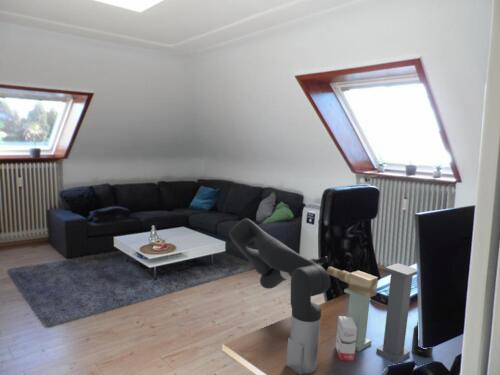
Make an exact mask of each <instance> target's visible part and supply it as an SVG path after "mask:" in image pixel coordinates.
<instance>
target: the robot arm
mask: <svg viewBox="0 0 500 375" xmlns="http://www.w3.org/2000/svg"><path fill="white" fill-rule="evenodd" d="M228 237H229V238H230V240H231V241H232V242H233V244H234V245H235V246H236V247H237V249H238V250H239V251H240V252H241V253H242V255H244V257H245V258H246V259H247V260H248V261H249V262H250V264H251V265H252V266H253V268H254V270H255V271H256V272H257V273H258V274H259V275H261V276H260V278H259V284H260V285H261V287H262V288H265V289H269V290H270V289H273V288H275V287H277V286H279V285H280V284H282V283H283V282H285V281H288V280H290V306H291V320H290V336H289V337H288V338H287V345H286V346H287V347H286V349H287V350H286V360H285V366H286V367H288V368H290V369H291V370H293V371H294V372H295V373H297V374H298V375H302V374H311V373H314V372H315V371H316V370H317V367H318V357H319V356H318V355H319V345H320V344H319V343H320V334H321V333H320V331H321V320H322V308H321V307H320V305H318V304H316V303H315V302H312V299H311V298H312V297H313V296H318V295H322V294H324V293H326V292H327V291H328V290H329V289H330V287H331V278H330V275H329V274H328V273H327V269H325V268H324V267H323V266H322V265H324V264H325V263H328V262H329V258H328V256H327V255H326V256H322V257H318V258H311V259H308V258H306V257H304V256H302V255H300V254H299V253H297V251H295V250H293V249H292V248H290V247H288V245H286V244H285V243H283V242H281V240H279V239H277V238H275V237H273V236H272V235H270V234H269V233H267V232H266V231H264V230H263V229H262V228H261V227H260V226H259V225H258V224H256V223H255V222H254V221H253V220H251V219H250V218H246V217H245V218H242V219H241V220H239V222H238V223H236V224H235V225H234V226H233V227H232V228H231V229H230V230H229V231H228ZM255 239H256V240H257V249H254V248H250V247H248V245H249V244H251V242H253V241H254V240H255Z"/></svg>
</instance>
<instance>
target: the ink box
mask: <svg viewBox="0 0 500 375" xmlns="http://www.w3.org/2000/svg"><path fill="white" fill-rule="evenodd" d="M336 330H337V331H336V341H335V348H336V352H337V355H338V357H339V358H338V359H339V360H340V361H350V362H353V361H355V355H356V350H355V344H356V334H357V327H356V325H355V323H354V321H353V319H352V317H348V316H344V315H343V316H342V315H339V316H338V319H337V329H336Z"/></svg>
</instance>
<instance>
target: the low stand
mask: <svg viewBox="0 0 500 375" xmlns="http://www.w3.org/2000/svg"><path fill="white" fill-rule="evenodd" d="M343 290H344V291H343V292H344V293H346V294H348V295H349V301H348V311H347V317H352V319H353V321H354V323H355V325H356V327H357V334H356V344H355V352H356V351H357V352H360V351H362V350H364V349H365V348H367V347H369V346H371V345H372V339H369V338H367V328H368V320H369V319H368V318H369V311H370V300H371V298H372V297H374V296H376V295H377V291H376V294H375V295H372V296H370V297H366V296H364V295H361V294H359V293H357V292H354V291H352V290H349V287H347V288H344V289H343Z"/></svg>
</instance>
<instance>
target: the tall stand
mask: <svg viewBox="0 0 500 375" xmlns="http://www.w3.org/2000/svg"><path fill="white" fill-rule="evenodd" d="M417 269H418V268H415V267H412V266H408V265H406V264H401V263H399V262H398V263H394V264H391V265H388V266H385V269H384V270H385V271H387V272H389V273H390V282H389V288H388V289H389V290H388V300H387V307H386V317H385V325H384V326H385V327H384V336H383V343H382V344H381V345H380V346H378V347H376V353H377V354H379V355H381V356H383V357H384V358H386V359H387V360H391V361H393V362H394V363H396V364H399V363H400V362H402V361H403V360H405V359H406V358H408V357H409V356H410V355H411V351H410V350H408V349H406V348H405V345H406V344H405V343H406V335H407V334H406V333H407V326H408V318H409V311H410V310H409V308H410V302H411V301H410V300H411V291H412V284H413V283H412V282H413V276H415V275H417Z"/></svg>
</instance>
